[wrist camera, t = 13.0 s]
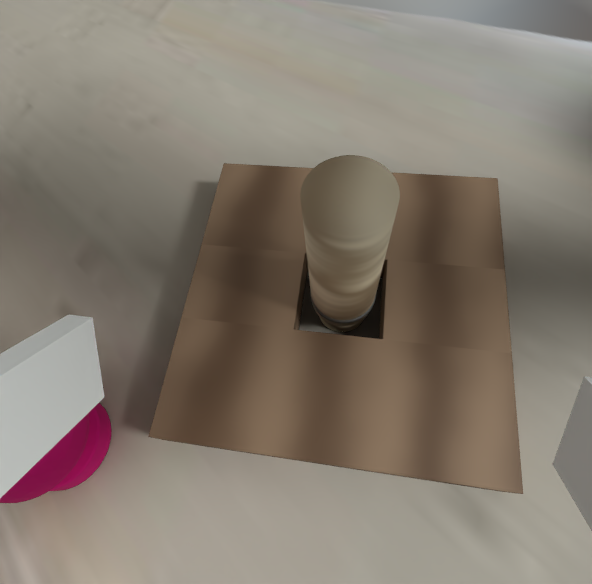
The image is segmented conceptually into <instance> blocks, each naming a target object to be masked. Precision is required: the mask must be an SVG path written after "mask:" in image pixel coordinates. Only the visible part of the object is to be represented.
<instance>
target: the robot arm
mask: <svg viewBox="0 0 592 584" xmlns="http://www.w3.org/2000/svg"><path fill="white" fill-rule="evenodd" d="M103 398H104V390H103V384H102V377H101V370H100V364H99V357H98V351H97V344H96V337H95V331H94V324H93V317H85V316H77V315H69V314H68V315H67V316H65V317H63V318H62V319H60V320H58V321H56V322H55V323H53V324H51V325H49V326H48V327H46V328H44V329H42V330H41V331H39V332H37V333H35V334H34V335H32V336H30V337H28V338H27V339H25V340H23V341H21V342H20V343H18V344H16V345H15V346H13V347H11V348H9V349H8V350H6V351H4V352H2V353H1V354H0V498H1V497H2V496H3V495H4V494H5V493H6V492H7V491H8V490H9V489H10V488H11V487H12V486H14V485H15V484H16V483H17V482H18V481H19V480H20V479H21V478H22V477H23V476H24V475H25V474H26V473H27V472H28V471H29V470H30V469H31V468H32V467H33V466H34V465H35V464H36V463H37V462H38V461H39V460H40V459H41V458H42V457H43V456H44V455H45V454H46V453H48V452H49V451H50V450H51V449H52V448H53V447H54V446H55V445H56V444H57V443H58V442H59V441H60V440H61V439H62V438H63V437H64V436H65V435H66V434H67V433H68V432H69V431H70V430H71V429H72V428H73V427H74V426H75V425H76V424H77V423H78V422H79V421H80V420H82V419H83V418H84V417H85V416H86V415H87V414H88V413H89V412H90V411H91V410H92V409H93V408H94V407H95V406H96V405H97V404H98V403H99V402H100V401H101V400H102V399H103ZM553 466H554V467H555V469H556V471H557V472H558V474H559V476H560V478H561V479H562V481H563V483H564V484H565V486H566V488H567V489H568V491H569V493H570V495H571V496H572V498H573V500H574V501H575V503H576V505H577V507H578V508H579V510H580V512H581V513H582V515H583V517H584V519H585V520H586V522H587V524H588V525H589V527H590V529H591V531H592V377H584V378H583V381H582V384H581V386H580V389H579V392H578V395H577V398H576V400H575V403H574V406H573V409H572V412H571V414H570V417H569V420H568V423H567V425H566V428H565V431H564V434H563V437H562V439H561V442H560V445H559V448H558V450H557V453H556V456H555V459H554V462H553Z"/></svg>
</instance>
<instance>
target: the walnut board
mask: <svg viewBox="0 0 592 584" xmlns="http://www.w3.org/2000/svg"><path fill="white" fill-rule="evenodd" d="M312 169H313V168H298V167H280V166H262V165H243V164H225V163H224V165H223V168H222V172H221V175H220V179H219V183H218V186H217V190H216V194H215V197H214V201H213V204H212V208H211V212H210V215H209V219H208V223H207V226H206V230H205V233H204V237H203V241H202V244H201V248H200V252H199V255H198V259H197V262H196V266H195V270H194V273H193V277H192V280H191V284H190V288H189V291H188V295H187V299H186V302H185V306H184V309H183V313H182V317H181V320H180V324H179V328H178V331H177V335H176V338H175V342H174V346H173V349H172V353H171V357H170V360H169V364H168V367H167V371H166V375H165V378H164V382H163V386H162V389H161V393H160V396H159V400H158V404H157V407H156V411H155V415H154V418H153V422H152V425H151V429H150V433H149V436H148V437H152V438H157V439H162V440H168V441H174V442H181V443H187V444H194V445H200V446H207V447H214V448H220V449H227V450H233V451H240V452H246V453H253V454H259V455H266V456H272V457H279V458H286V459H292V460H299V461H305V462H312V463H318V464H325V465H331V466H338V467H345V468H351V469H358V470H364V471H371V472H377V473H384V474H390V475H397V476H403V477H410V478H417V479H423V480H430V481H436V482H443V483H449V484H456V485H462V486H469V487H475V488H482V489H489V490H495V491H502V492H511V493H520V494H523V486H522V474H521V462H520V449H519V437H518V425H517V413H516V400H515V388H514V376H513V363H512V351H511V339H510V326H509V314H508V302H507V290H506V277H505V265H504V253H503V240H502V228H501V216H500V204H499V191H498V179H497V178H480V177H462V176H444V175H426V174H407V173H392V174H393V176H394V177H395V179H396V181H397V183H398V186H399V190H400V199H399V204H398V208H397V212H396V216H395V220H394V224H393V228H392V232H391V236H390V240H389V244H388V248H387V252H386V256H385V260H384V264H383V268H382V272H381V276H380V278H383V279H382V296H381V313H380V330H379V339H376V338H366V337H357V336H348V335H339V334H330V333H321V332H311V331H302V330H299V324H300V317H301V310H302V303H303V296H304V290H305V283H306V276H307V272H309V271H308V262H307V253H306V244H305V235H304V226H303V217H302V208H301V198H300V193H301V187H302V184H303V182H304V180H305V178H306V176H307V175H308V174H309V172H310V171H311V170H312Z"/></svg>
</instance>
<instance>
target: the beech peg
mask: <svg viewBox="0 0 592 584" xmlns="http://www.w3.org/2000/svg"><path fill="white" fill-rule="evenodd" d="M300 198H301V208H302V217H303V226H304V235H305V244H306V253H307V262H308V271H309V279H310V295H311V301H312V304H313V307H314V309H315V311H316V313H317V314H318V315H319V317H320V319H321V321H322V323H323V324H324V325H325V326H326V327H328V328H329V329H331V330H333V331H336V332H348V331H351V330H354V329H355V328H357V327H358V326H359V325H360V324H361V323H362V321H363V319H364V318H365V317H366V316H367V315H368V314H369V313H370V311H371V309H372V307H373V305H374V302H375V298H376V291H377V287H378V283H379V280H380V276H381V272H382V268H383V264H384V260H385V256H386V252H387V248H388V244H389V240H390V236H391V232H392V228H393V224H394V220H395V216H396V212H397V208H398V204H399V199H400V190H399V186H398V183H397V181H396V179H395V177H394V176H393V174H392V173H391V172H390V171H389V170H388V169H387V168H386V167H385V166H383V165H382V164H380V163H379V162H377V161H375V160H373V159H370V158H367V157H362V156H355V155H346V156H339V157H334V158H331V159H328V160H326V161H324V162H322V163H320V164H319V165H317V166H316V167H315V168H313V169H312V170H311V171H310V172H309V174H308V175H307V176H306V178H305V180H304V182H303V184H302V187H301V193H300Z"/></svg>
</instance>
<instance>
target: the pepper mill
mask: <svg viewBox="0 0 592 584" xmlns="http://www.w3.org/2000/svg"><path fill="white" fill-rule="evenodd" d="M110 440H111V423H110V419H109V416H108V414H107V412H106V410H105V409H104V407H103V406H102V405H101V404H100V403H98V404H97V405H96V406H95V407H94V408H93V409H92V410H91V411H90V412H89V413H88V414H87V415H86V416H85V417H84V418H83V419H82V420H80V421H79V422H78V423H77V424H76V425H75V426H74V427H73V428H72V429H71V430H70V431H69V432H68V433H67V434H66V435H65V436H64V437H63V438H62V439H61V440H60V441H59V442H58V443H57V444H56V445H55V446H54V447H53V448H52V449H51V450H50V451H49V452H48V453H46V454H45V455H44V456H43V457H42V458H41V459H40V460H39V461H38V462H37V463H36V464H35V465H34V466H33V467H32V468H31V469H30V470H29V471H28V472H27V473H26V474H25V475H24V476H23V477H22V478H21V479H20V480H19V481H18V482H17V483H16V484H15V485H14V486H12V487H11V488H10V489H9V490H8V491H7V492H6V493H5V494H4V495H3V496H2V497H1V498H0V503H18V502H23V501H27V500H30V499H33V498H36V497H39V496H41V495H42V494H44V493H46V492H48V491H59V490H66V489H69V488H72V487H75V486H77V485H79V484H80V483H82V482H83V481H85V480H86V479H87V478H89V477H90V476H91V475H92V474H93V473H94V472H95V470H96V469H97V468H98V467H99V466H100V464H101V463H102V461H103V459H104V457H105V455H106V453H107V451H108V448H109V444H110Z"/></svg>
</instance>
